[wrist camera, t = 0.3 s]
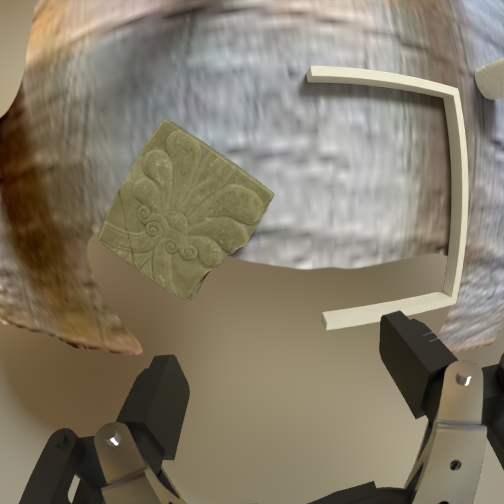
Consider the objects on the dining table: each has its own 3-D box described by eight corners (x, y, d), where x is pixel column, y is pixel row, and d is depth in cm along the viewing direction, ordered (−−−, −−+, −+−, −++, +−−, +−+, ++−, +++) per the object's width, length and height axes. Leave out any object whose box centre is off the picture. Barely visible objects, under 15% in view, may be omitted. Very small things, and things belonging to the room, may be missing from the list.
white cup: (475, 96, 30) (511, 90, 20) (468, 60, 28) (500, 49, 18) (498, 107, 30) (531, 103, 20) (491, 72, 27) (522, 65, 18)
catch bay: (306, 73, 31) (310, 65, 28) (447, 91, 30) (457, 88, 27) (322, 320, 41) (326, 330, 39) (446, 296, 41) (455, 303, 38)
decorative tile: (103, 235, 38) (91, 240, 35) (169, 120, 33) (161, 115, 30) (199, 303, 41) (195, 314, 38) (279, 195, 37) (282, 197, 33)
